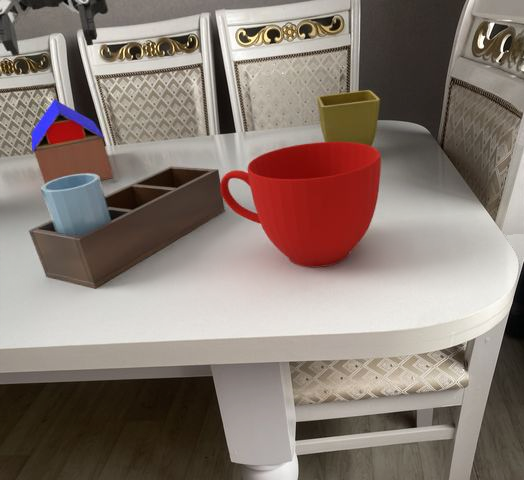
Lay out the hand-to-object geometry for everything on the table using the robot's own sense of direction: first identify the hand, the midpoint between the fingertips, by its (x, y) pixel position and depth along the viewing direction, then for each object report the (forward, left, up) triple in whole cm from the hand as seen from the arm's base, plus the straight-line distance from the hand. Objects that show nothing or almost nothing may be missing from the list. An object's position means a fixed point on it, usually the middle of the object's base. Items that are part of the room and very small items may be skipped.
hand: (51, 45), depth 60 cm
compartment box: (+10, -3, -22) cm, 24 cm away
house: (-28, +19, -22) cm, 41 cm away
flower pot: (+20, +36, -22) cm, 47 cm away
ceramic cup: (+31, 0, -22) cm, 38 cm away
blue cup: (+10, -10, -21) cm, 25 cm away
